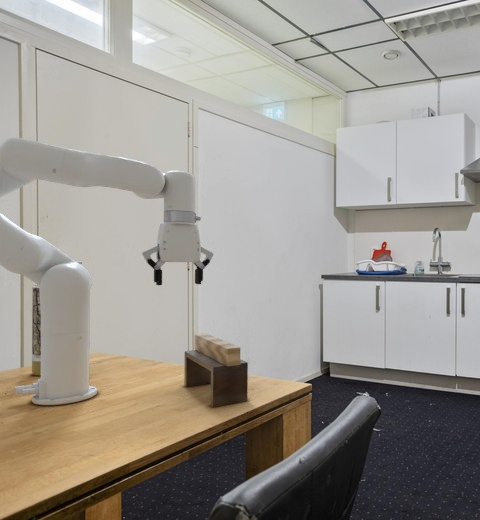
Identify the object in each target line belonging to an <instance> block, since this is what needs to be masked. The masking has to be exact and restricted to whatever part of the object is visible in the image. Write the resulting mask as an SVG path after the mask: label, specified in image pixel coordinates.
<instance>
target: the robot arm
mask: <svg viewBox="0 0 480 520" xmlns="http://www.w3.org/2000/svg"><path fill="white" fill-rule="evenodd" d="M36 180H41V181H45V182H50V183H57V184H61V185H66V186H72V187H76V188H91V187H93V188H94V187H103V188H110V189H116V190H117V189H118V190H123V191H127V192H131V193H133V194H134V195H135V196H136V197H138V198H141V199H145V200H155V199H157V200H159V199H163V223H159V226H158V232H157V238H156V239H157V241H156V245H155V246H153V247H151V248H149V249H146V250H144V251H143V252H141V255H142V257H143V258H144V260H145V262H146V264H148V266H150V267H151V268H152V269H153V283H155V285H156V286H162V285H163V270H162V266H164V264H165V263H192V264H193V265H194V266H195V267H196V268H195V269H194V284H195V285H202V282H203V281H204V270H205V268H206V267H207V266H208V265H209V264H210V263H211V260H212V258H213V257H214V253H213V252H212V251H210V250H208V249H206V248H204V247H203V246H201V237H200V232H199V231H200V229H199V227H198V225H197V224H196V223H197V222H201V219H202V217H201V215H197V213H196V177H195V175H194V174H193V173H191V172H188V171H183V170H170V171H169V170H168V171H167V172H165V173H163V172H162V170H161V169H160V168H158V167H157V166H155V165H153V164H151V163H147V162H143V161H139V160H135V159H130V158H126V157H121V156H115V155H109V154H102V153H96V152H88V151H83V150H78V149H74V148H68V147H63V146H59V145H55V144H50V143H46V142H41V141H37V140H34V139H33V140H32V139H28V138H24V137H8V138H5V139H3V140H2V141H1V142H0V198H2V197H3V196H4V197H5V196H6V195H8V194H10V193H12V192H14V191H16V190H18V189H21V188H23V187H25V186H26V185H29V184H30V183H32V182H35V181H36ZM155 253H156V254H155ZM153 254H155V255H156V261H154V260H153V259H152V257H151V255H153ZM202 254H203V255H205V258H204V260H202V261H201V257H202ZM0 266H2V268H4V269H5V270H7V271H9V272H10V273H13V274H17V275H22V276H24V277H25V278H27V279H29V280H30V281H31V282H33V283H34V284H35V285H39V286H40V288H39V296H40V310H41V376H40V378H38V379H37V382H32V384H28V385H18V386H14V387H15V389H14V390H15V392H14V393H15V394H14V395H15V396H18V395H19V396H20V395H21V396H22V397H24V396H28V395H29V396H30V395H32V396H31V402H32V404H34V405H39V406H57V405H58V406H59V405H67V404H73V403H77V402H82V401H86V400H88V399H91V398H93V397H95V396H97V394H98V388H97V387H96V386H93V385H90V367H91V366H90V365H91V364H90V363H91V362H90V358H91V357H90V356H91V355H90V353H91V352H90V350H91V349H90V348H91V345H90V344H91V341H90V340H91V289H92V286H93V278H92V275H91V273H90V272H89V270H88V269H87V268H86V267H85V266H83V265H82V264H80V263H79V262H78V261H77V260H75V259H73V258H72V257H71V256H69V255H68V254H66V253H65V252H63V250H61V249H59V247H57V246H55V245H54V244H52V243H51V242H50V241H48V240H47V239H45V238H44V237H41V236H40V235H36V234H32V233H30V232H28V231H27V230H24V229H23V227H22V228H21V227H20V226H19V225H18V224H16V223H14V222H13V221H11V220H10V219H9V218H7V217H6V216H5V215H4V214H2V212H0Z"/></svg>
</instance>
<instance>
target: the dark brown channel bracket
mask: <svg viewBox="0 0 480 520" xmlns="http://www.w3.org/2000/svg"><path fill="white" fill-rule="evenodd" d="M183 368H184V371H183V373H184V375H183V377H184V379H183V381H184V383H183V384H184V386H185V388H188V387H189V388H190V387H195V386H200V385H206V384H207V385H208V384H210V406H211V407H212V408H217V407H221V406H228V405H232V404H238V403H242V402H247V401H248V382H249V381H248V377H249V375H248V374H249V373H248V371H249V362H248V361H245V360H243V359H241V358H240V365H234V366H226V365H224V364H222V363H220V362H218V361H216V360H214V359H212V358H210V357H208V356H207V355H205V354H203V353H201V352H199V351H197V350H195V349H193V350H184V367H183Z"/></svg>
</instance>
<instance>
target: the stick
mask: <svg viewBox="0 0 480 520" xmlns="http://www.w3.org/2000/svg"><path fill="white" fill-rule="evenodd" d="M194 350H197V351H199V352H201V353H203V354H205V355H207V356H208V357H210V358H212V359H214V360H216V361H218V362H220V363H222V364H224V365H226V366H234V365H240V359H241V347H240V346H238V345H236V344H233V343H231V342H228V341H225V340H223V339H221V338H218V337H216V336H214V335H211V334H208V333H205V332H204V333H196V334H194Z"/></svg>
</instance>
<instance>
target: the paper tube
mask: <svg viewBox="0 0 480 520" xmlns="http://www.w3.org/2000/svg"><path fill="white" fill-rule="evenodd" d="M39 288H40V286H39V285H37V284H33V285H32V304H31V305H32V311H31V312H32V315H31V317H32V318H31V319H32V320H31V321H32V323H31V374H32V375H34V376H37V377H41V310H40V296H39Z"/></svg>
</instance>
